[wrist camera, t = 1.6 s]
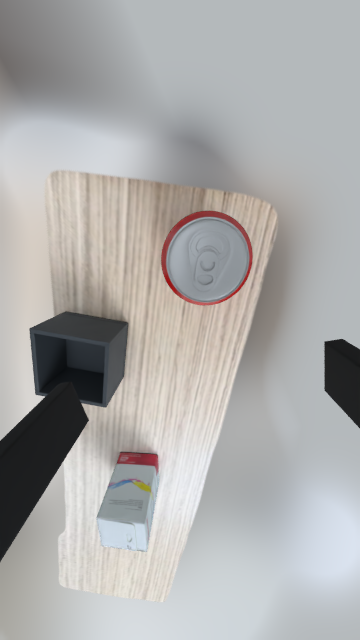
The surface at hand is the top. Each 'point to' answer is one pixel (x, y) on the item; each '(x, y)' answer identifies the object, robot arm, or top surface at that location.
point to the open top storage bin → (79, 355)
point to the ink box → (129, 502)
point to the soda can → (206, 258)
